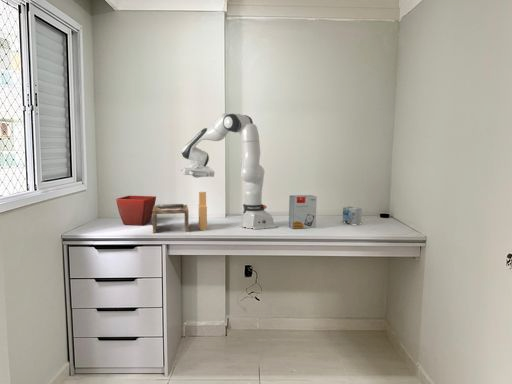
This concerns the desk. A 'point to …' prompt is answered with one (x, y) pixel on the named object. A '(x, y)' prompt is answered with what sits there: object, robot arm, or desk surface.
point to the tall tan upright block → (202, 211)
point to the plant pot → (136, 209)
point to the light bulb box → (352, 215)
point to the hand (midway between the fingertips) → (200, 174)
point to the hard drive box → (302, 211)
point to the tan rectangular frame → (177, 207)
